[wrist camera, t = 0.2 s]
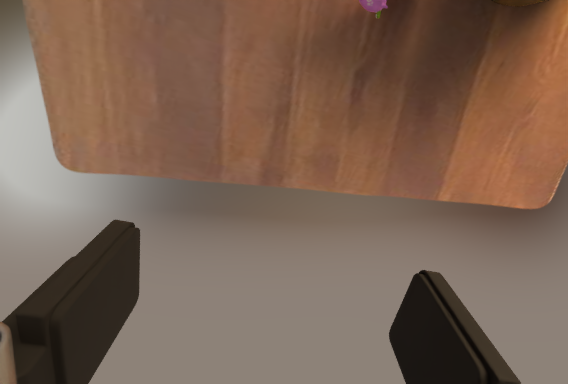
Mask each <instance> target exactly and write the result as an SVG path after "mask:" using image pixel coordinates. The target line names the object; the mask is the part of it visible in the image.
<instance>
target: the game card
mask: <svg viewBox="0 0 568 384" xmlns="http://www.w3.org/2000/svg"><path fill="white" fill-rule="evenodd" d="M359 2H360V4H361V5H362V7H363V8H364V9H366V10H367V11H370V12H375V13H376V16H377V17H376V19H377V18H380V14H381V10H382V9H383V8H388V6H387V5H386V2H387V0H359Z"/></svg>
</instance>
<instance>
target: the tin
mask: <svg viewBox="0 0 568 384" xmlns="http://www.w3.org/2000/svg"><path fill="white" fill-rule="evenodd" d="M492 1H494V2H496V3H499V4H502V5H507V6H516V7H520V6H525V5H529V4H534V3H539V2H543V1H548V0H492Z"/></svg>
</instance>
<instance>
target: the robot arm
mask: <svg viewBox="0 0 568 384" xmlns="http://www.w3.org/2000/svg"><path fill="white" fill-rule="evenodd" d="M139 260H140V230H139V228H135V225H134V223H131V222H126V221H120V220H114V221H112V222H111V223H110V224H109V225H108V226H107V227H106V228H105V229H104V230H102V232H101V233H99V234H98V235H97V236H96V237H95V238H94V239H93V240H92V241H91V242H90V243H89V244H88V245H87V246H86V247H85V248H84V249H83V250H81V252H79V253H78V254H77V255H76V256H75V257H72V258H70V259H69V260H68V261H66V262H65V263H64V264H63V265H62V266H61V267H60V268H59V269H58V270H57V271H56V272H55V273H54V274H53V275H51V276H50V277H49V278H48V279H47V280H46V281H45V282H44V283H43V284H42V285H41V286H40V287H39V288H38V289H37V290H35V291H34V292H33V293H32V294H31V295H30V296H29V297H28V298H27V299H26V300H25V301H24V302H23V303H22V304H21V305H20V306H18V307H17V308H16V309H15V310H14V311H13V312H12V313H11V314H10V315H9V316H8V317H7V318H6V319H5V320H4V321H2V322H0V384H88V383H89V382H90V380H91V378H92V377H93V375H94V373H95V372H96V370H97V368H98V367H99V365H100V363H101V362H102V360H103V358H104V357H105V355H106V353H107V351H108V350H109V348H110V347H111V345H112V343H113V342H114V340H115V338H116V337H117V335H118V333H119V331H120V330H121V328H122V326H123V325H124V323H125V321H126V320H127V318H128V316H129V315H130V313H131V311H132V310H133V308H134V306H135V304H136V302H137V300H138V296H139V265H140V263H139ZM389 339H390V342H391V345H392V348H393V350H394V353H395V356H396V358H397V361H398V364H399V366H400V369H401V371H402V374H403V377H404V379H405V382H406V384H521V382H520V381H519V380H518V378H517V377H516V375H515V374H514V373H513V371H512V370H511V369H510V367H509V366H508V365H507V363H506V362H505V360H504V359H503V358H502V356H501V355H500V354H499V352H498V351H497V350H496V348H495V347H494V345H493V344H492V343H491V341H490V340H489V339H488V337H487V336H486V335H485V333H484V332H483V330H482V329H481V328H480V326H479V325H478V324H477V322H476V321H475V320H474V318H473V317H472V316H471V314H470V313H469V311H468V310H467V309H466V307H465V306H464V305H463V303H462V302H461V300H460V299H459V298H458V296H457V295H456V294H455V292H454V291H453V290H452V288H451V287H450V285H449V284H448V283H447V281H446V280H445V279H444V277H443V276H442V275H441V274H440V273H437V272H432V271H425V270H422V271H420V272H419V274H418V273H417V274H415V275H414V276H413V279H412V281H411V283H410V286H409V288H408V290H407V292H406V294H405V297H404V299H403V301H402V304H401V306H400V308H399V310H398V313H397V315H396V317H395V319H394V322H393V324H392V326H391V329H390V332H389Z"/></svg>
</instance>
